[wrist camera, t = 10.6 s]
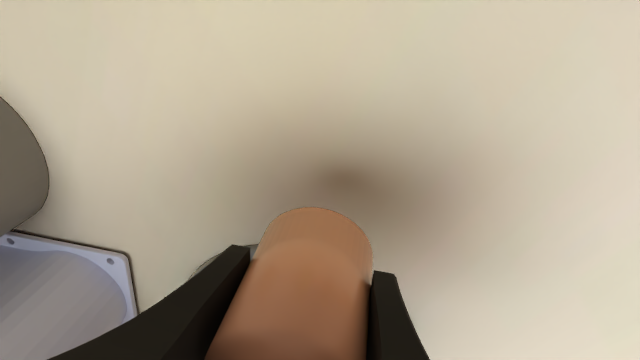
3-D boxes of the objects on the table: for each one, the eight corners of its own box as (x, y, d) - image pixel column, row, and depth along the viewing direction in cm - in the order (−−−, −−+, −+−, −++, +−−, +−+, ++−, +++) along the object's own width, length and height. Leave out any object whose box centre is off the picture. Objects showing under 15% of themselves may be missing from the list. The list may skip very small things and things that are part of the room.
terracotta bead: (268, 292, 15) (219, 422, 11) (255, 204, 13) (188, 319, 9) (372, 300, 15) (363, 442, 10) (373, 210, 13) (363, 336, 8)
